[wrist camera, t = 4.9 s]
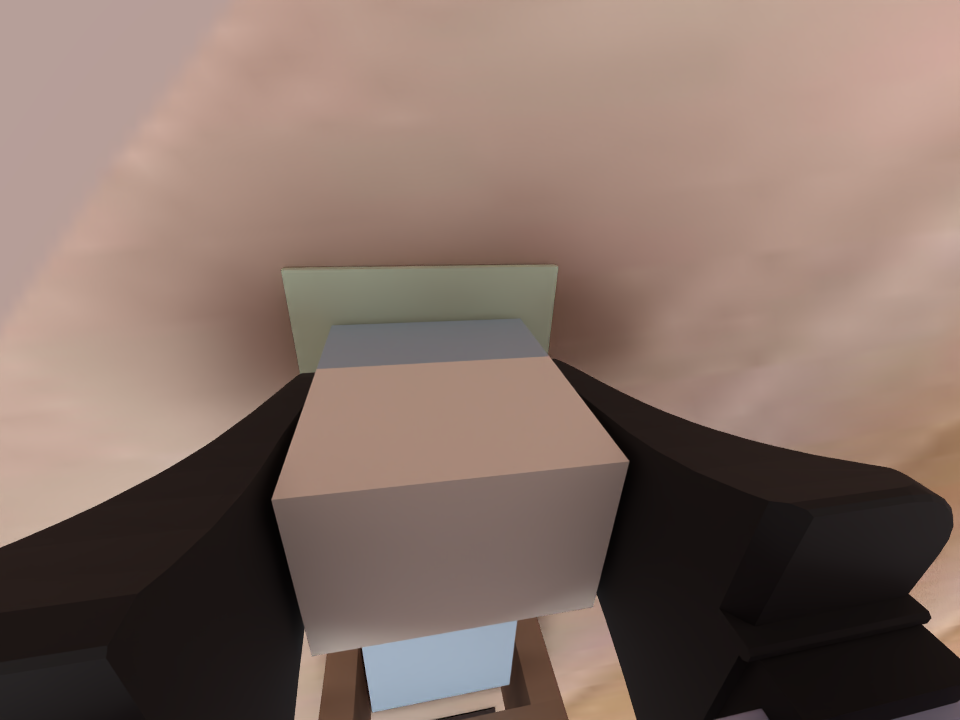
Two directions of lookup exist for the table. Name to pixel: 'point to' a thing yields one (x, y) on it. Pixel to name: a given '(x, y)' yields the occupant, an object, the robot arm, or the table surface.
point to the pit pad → (471, 714)
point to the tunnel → (527, 716)
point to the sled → (442, 501)
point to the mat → (414, 299)
